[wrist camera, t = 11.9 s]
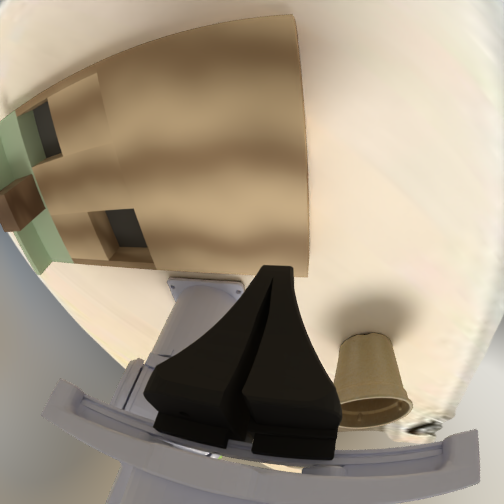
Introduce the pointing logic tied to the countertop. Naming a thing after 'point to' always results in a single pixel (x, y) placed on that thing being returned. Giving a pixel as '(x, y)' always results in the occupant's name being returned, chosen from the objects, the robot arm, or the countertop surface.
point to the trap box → (171, 155)
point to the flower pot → (369, 383)
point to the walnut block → (19, 204)
